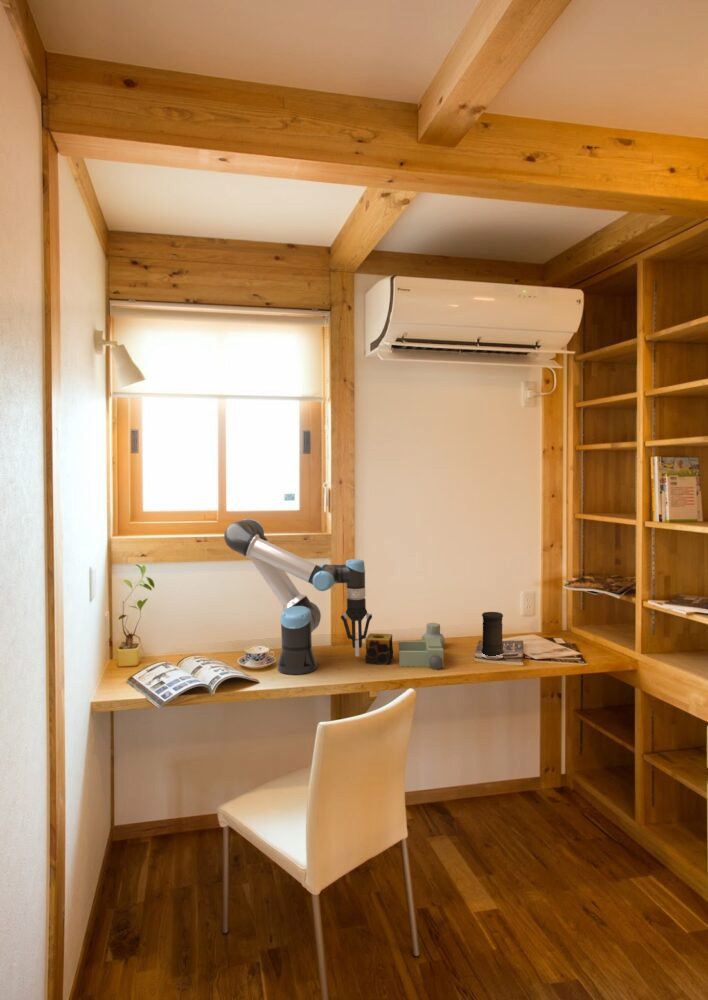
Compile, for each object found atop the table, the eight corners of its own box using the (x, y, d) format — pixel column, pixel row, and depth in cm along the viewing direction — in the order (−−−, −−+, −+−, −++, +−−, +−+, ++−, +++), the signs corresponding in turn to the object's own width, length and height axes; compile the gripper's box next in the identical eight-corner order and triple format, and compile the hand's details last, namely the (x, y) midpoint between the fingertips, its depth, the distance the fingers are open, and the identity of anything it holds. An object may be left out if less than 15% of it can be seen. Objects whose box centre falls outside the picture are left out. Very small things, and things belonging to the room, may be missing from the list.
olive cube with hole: (390, 665, 256) (389, 640, 256) (364, 664, 259) (364, 639, 258) (393, 657, 266) (393, 633, 266) (369, 656, 268) (369, 632, 268)
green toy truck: (399, 669, 251) (399, 649, 250) (398, 652, 273) (398, 634, 273) (443, 669, 250) (443, 649, 249) (439, 652, 272) (439, 634, 272)
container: (507, 656, 266) (507, 613, 265) (497, 661, 259) (497, 617, 258) (487, 652, 272) (488, 610, 271) (477, 657, 265) (477, 614, 264)
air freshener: (445, 650, 276) (445, 627, 276) (427, 651, 275) (426, 627, 275) (439, 643, 287) (439, 620, 286) (421, 644, 286) (420, 621, 285)
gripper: (339, 599, 258) (340, 658, 259) (372, 599, 257) (373, 658, 259) (340, 596, 266) (342, 652, 267) (372, 595, 265) (373, 652, 266)
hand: (357, 655), depth 263 cm, fingers closed
